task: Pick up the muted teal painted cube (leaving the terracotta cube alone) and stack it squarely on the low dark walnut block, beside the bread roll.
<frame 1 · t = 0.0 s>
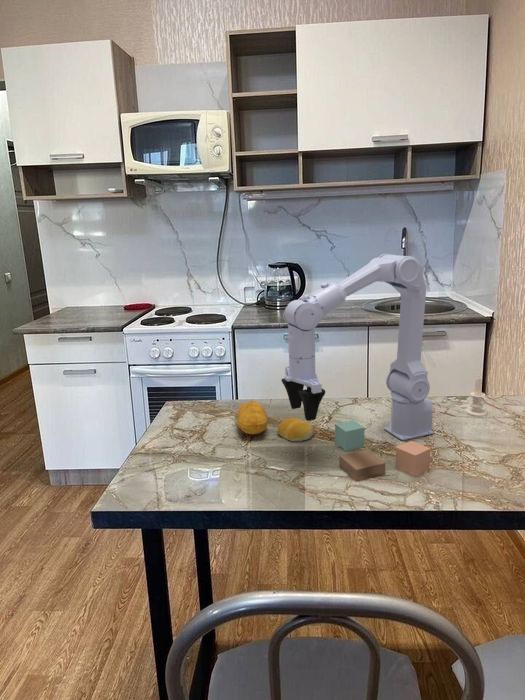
hand: (303, 413, 118), 10 cm above the table, fingers open, 7 cm apart
teal cube: (349, 445, 124), on the table
orange oval lump: (252, 431, 134), on the table
walnut block: (361, 471, 112), on the table
bread roll: (295, 435, 131), on the table
terracotta cube: (412, 469, 112), on the table
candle: (476, 413, 140), on the table
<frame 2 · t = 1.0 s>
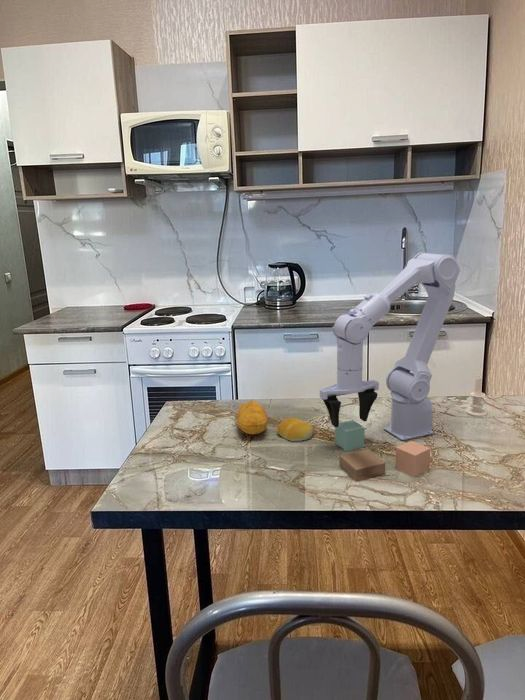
hand: (349, 422, 123), 6 cm above the table, fingers open, 7 cm apart
nothing on the table moved.
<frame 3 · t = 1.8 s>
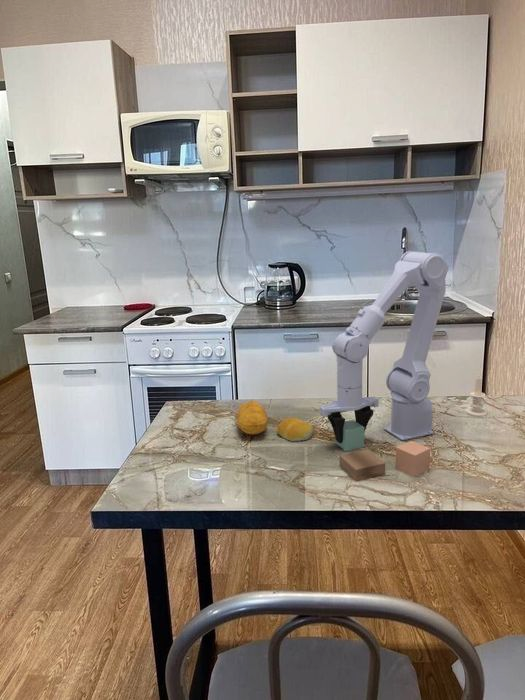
hand: (349, 439, 124), 1 cm above the table, fingers closed on teal cube, 5 cm apart
teal cube: (349, 444, 124), on the table, touching gripper
everything else where it was.
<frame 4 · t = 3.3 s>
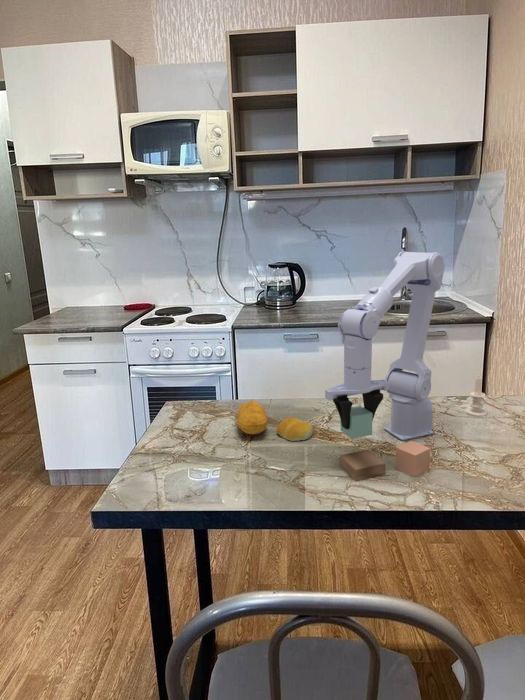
hand: (356, 425, 114), 9 cm above the table, fingers closed on teal cube, 5 cm apart
teal cube: (356, 432, 115), point 7 cm above the table, touching gripper
everything else where it was.
when the fingers open (6 cm above the table, at t = 4.5 s): teal cube drops 2 cm, resting on walnut block.
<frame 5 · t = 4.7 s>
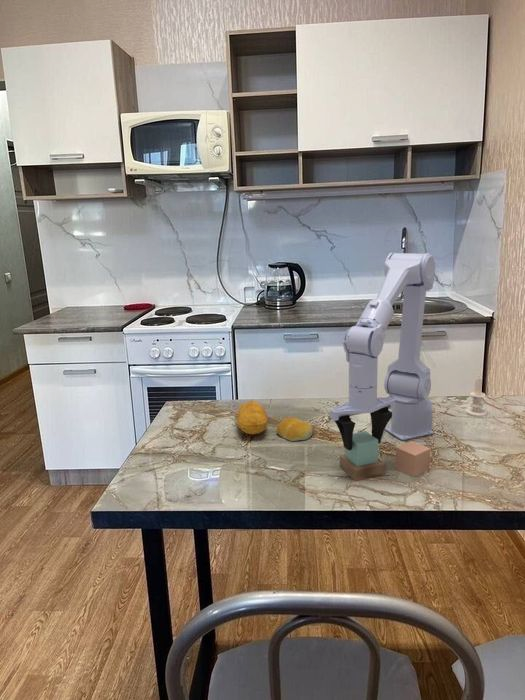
hand: (362, 445, 111), 6 cm above the table, fingers open, 6 cm apart
teal cube: (361, 459, 112), point 3 cm above the table, touching walnut block
walnut block: (361, 472, 112), on the table, touching teal cube
everything else where it was.
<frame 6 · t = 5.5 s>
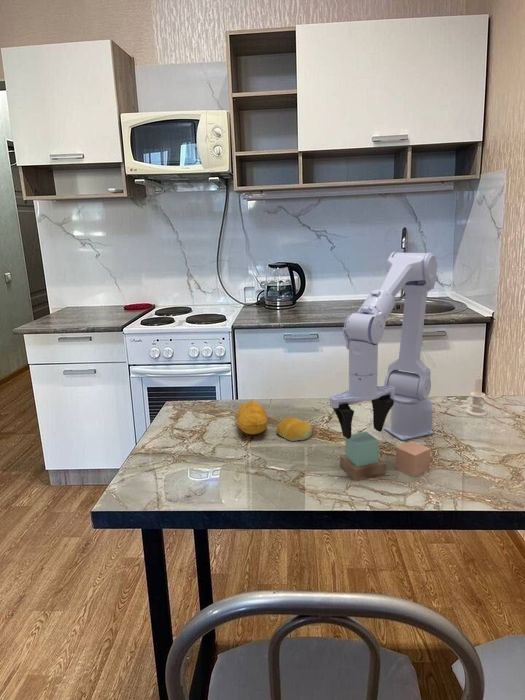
hand: (362, 433, 110), 9 cm above the table, fingers open, 7 cm apart
nothing on the table moved.
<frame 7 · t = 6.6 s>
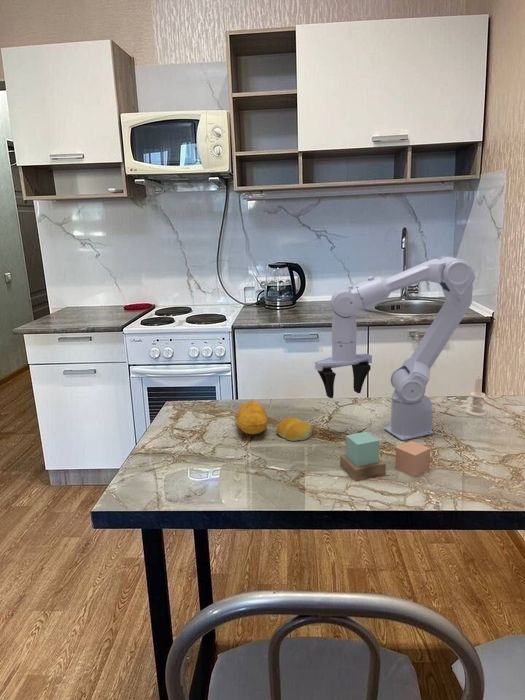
hand: (343, 394, 128), 10 cm above the table, fingers open, 7 cm apart
nothing on the table moved.
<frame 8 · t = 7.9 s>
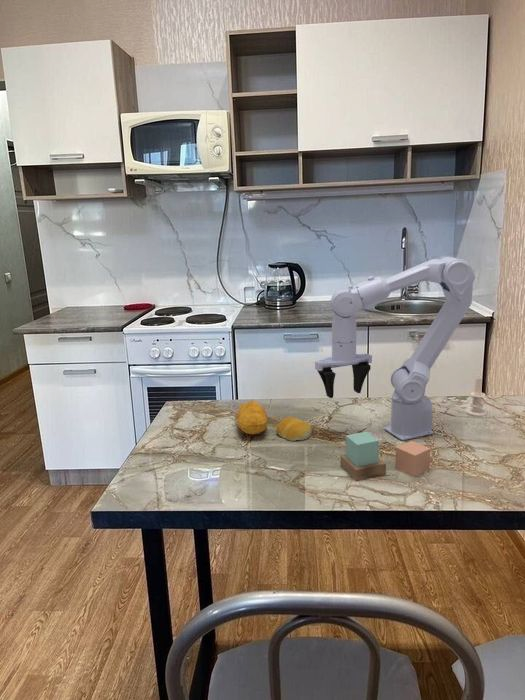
hand: (343, 394, 128), 10 cm above the table, fingers open, 7 cm apart
teal cube: (361, 459, 111), point 3 cm above the table
walnut block: (362, 472, 112), on the table
everything else where it was.
at the end: teal cube 0.1 cm off-centre on the walnut block, point 3.0 cm above the walnut block's base; teal cube tilted 0°; the gripper is holding nothing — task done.
